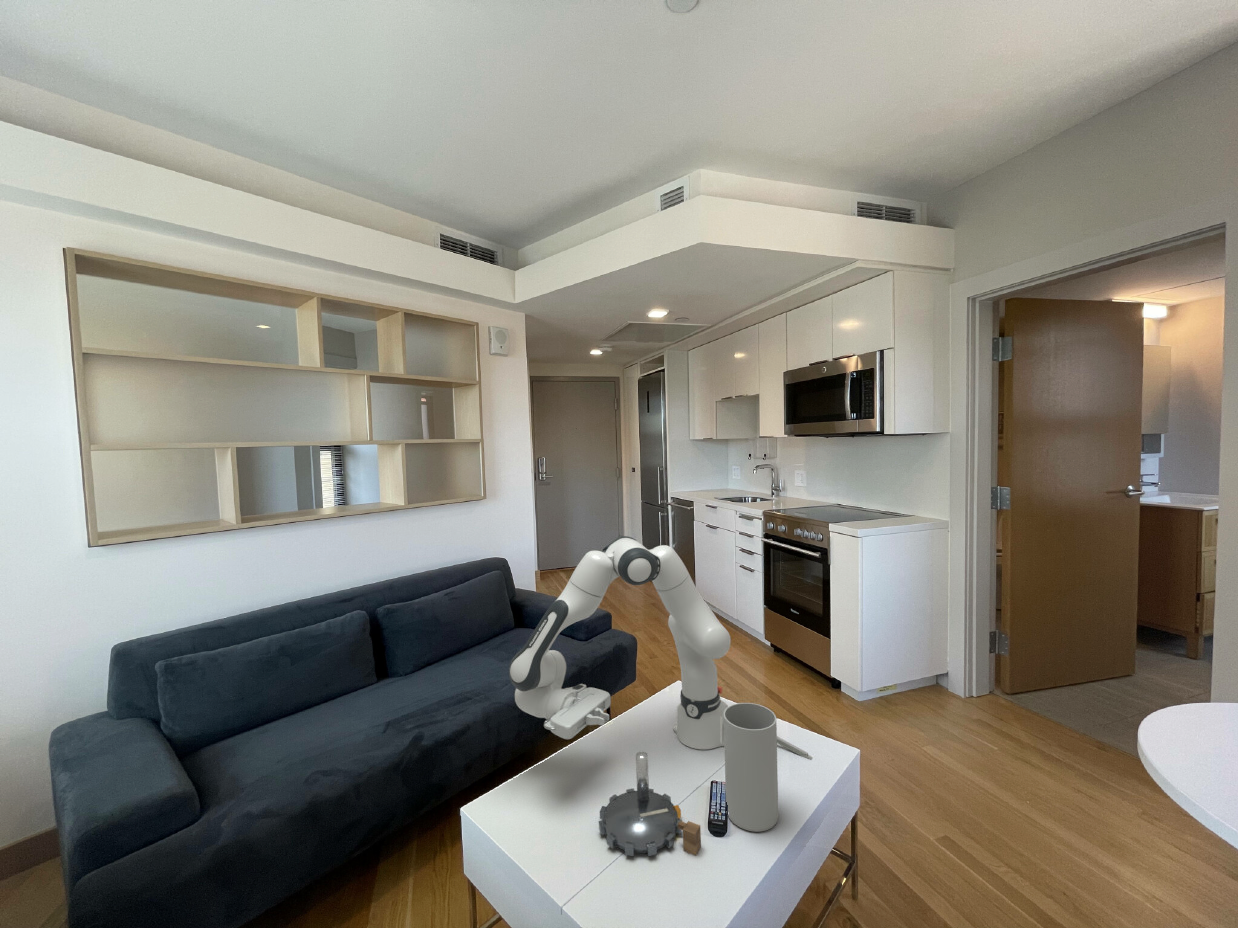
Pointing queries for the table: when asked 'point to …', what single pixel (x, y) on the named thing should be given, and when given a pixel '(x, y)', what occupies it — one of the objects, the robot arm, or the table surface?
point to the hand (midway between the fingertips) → (606, 719)
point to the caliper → (793, 748)
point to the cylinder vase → (751, 766)
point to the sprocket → (640, 817)
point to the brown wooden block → (690, 837)
